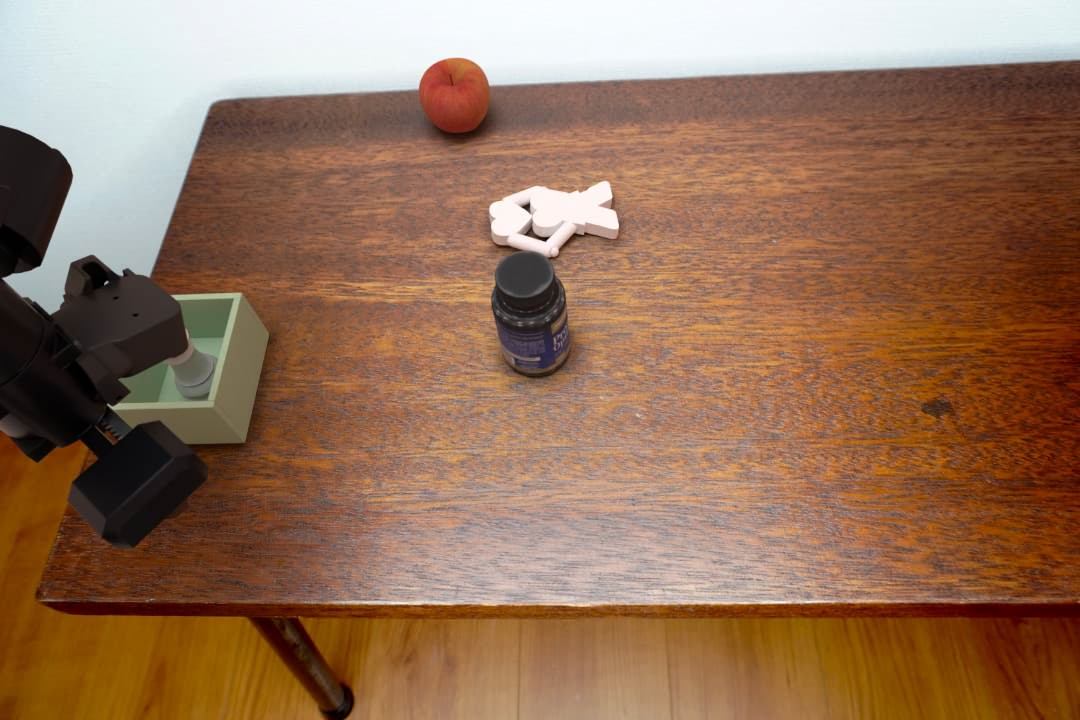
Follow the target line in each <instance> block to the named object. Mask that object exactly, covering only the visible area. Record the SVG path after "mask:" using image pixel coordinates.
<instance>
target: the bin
mask: <svg viewBox="0 0 1080 720" xmlns="http://www.w3.org/2000/svg"><path fill="white" fill-rule="evenodd" d="M170 295H171V296H172V297H173V298H174V299H176V300H177V301H178V302H179V303H180V305H181V310H182V315H183V320H184V325H185V328H186V329H187V331H188V334H189V338H190V339H191V340H192V341H193V344H194V347H195V348H196V349H197V350H198V351H199V352H201V353H206V354H210V355H213V356H215V357H216V358H217V359H218V362H217V366H216V370H215V374H214V378H213V382H212V385H211V389H210V393H209V397H208V401H196V402H191V401H187V400H186V399H185V398H184V397H183V396H181V393H180V392H179V391H178V390H177V387H176V385H175V382H174V371H173V369H172V367H171V366H170V365H169V364H166V363H165V362H164V361H163V362H161V363H159V364H157V365H155V366H153V367H151V368H149V369H147V370H145V371H143V372H141V373H139V374H137V375H135V376H132V377H128V378H120V379H118V380H119V381H121V382H122V383H123V384H124V385H125V386H126V387H127V388H128V389H129V390H130V391H131V393H130V394H128V395H127V396H126V397H125V398H124V399H123V400H121V401H120V402H119V403H118V404H117V405H115V406H110V405H109V404H107V405H108V406H109V407H110V408H111V409H113V410H114V411H115V412H116V413H117V414H118V415H119V416H120V417H121V418H122V419H123V420H124V421H125V422H126V423H127V424H128V425H129V426H130V427H131V428H132V429H133V428H134V427H136V426H137V425H138V424H141V423H146V422H151V421H157V420H160V421H161V422H162V423H163V424H164V425H165V426H166V427H168V428H169V429H170V430H171V431H172V432H173V433H174V434H175V435H176V436H177V437H178V438H179V439H180V440H181V441H182V442H184V443H185V444H186V445H210V444H211V445H213V444H214V445H215V444H216V445H218V444H245V443H246V440H247V436H248V431H249V428H250V427H249V426H250V424H251V418H252V414H253V409H254V406H255V400H256V396H257V391H258V387H259V382H260V379H261V374H262V369H263V364H264V360H265V356H266V351H267V348H268V343H269V338H270V333H269V331H268V329H267V328H266V326H265V325H264V323H263V322H262V321H261V319H260V317H259V316H258V315H257V313H256V311H255V310H254V308H253V307H252V305H251V304H250V302H249V301H248V300H247V298H246V296H245V294H243V292H220V293H219V292H218V293H192V294H191V293H190V294H189V293H188V294H170Z"/></svg>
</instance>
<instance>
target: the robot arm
mask: <svg viewBox="0 0 1080 720" xmlns="http://www.w3.org/2000/svg"><path fill="white" fill-rule="evenodd" d="M73 179H74V173H73V169H72V166H71V164H70V163H69V160H67V157H66V156H65V155H64V154H63V153H62V152H61V150H59V149H58V148H55V147H51V146H50V145H49V144H47V143H46V142H44V141H42V140H40V139H39V138H37V137H35V136H34V135H32V134H30V133H27V132H25V131H22V130H20V129H18V128H13V127H10V126H7V125H1V124H0V431H1V432H3V433H4V434H5V435H6V436H7V437H8V438H9V440H11V441H12V442H13V443H14V444H15V445H16V447H17V448H18V449H19V450H20V451H21V452H22V453H23V454H24V455H25V456H26V457H27V458H29V459H30V460H32V461H33V462H35V463H36V464H38V463H40V462H41V461H42V460H43V459H44V458H46V457H47V456H48V455H49V454H51V453H52V452H53V451H54V450H55V449H56V448H59V449H63V448H66V447H68V446H72V445H73V444H75V443H76V442H78V441H81V442H82V444H83V445H85V446H86V448H87V449H88V450H90V452H92V454H93V455H94V456H95V457H96V458H98V459H96V460H95V461H94V462H93V463H91V465H90V466H88V467H87V468H86V469H85V470H84V471H83V472H82V473H80V474H79V475H78V476H77V477H76V478H75V479H74V480H72V481H71V484H70V488H69V492H68V495H67V499H66V501H67V503H68V504H69V505H70V506H71V507H72V508H73V509H74V510H75V511H76V513H78V515H79V516H80V517H81V518H82V519H83V520H84V521H85V522H86V523H87V524H88V525H89V527H91V528H92V530H93V531H94V532H95V533H96V534H97V535H98V537H100V538H101V539H102V540H104V541H105V542H107V543H108V544H110V545H112V546H113V547H115V548H116V549H118V550H127V549H134V548H136V547H137V546H138V545H139V544H140V543H141V542H142V541H143V540H144V539H145V538H146V537H147V536H148V535H150V534H151V533H152V532H153V531H154V530H155V529H156V528H157V527H158V526H159V525H160V524H161V523H163V521H165V520H171V519H175V518H176V519H177V518H178V517H179V516H180V515H182V514H183V512H185V511H186V510H187V509H188V507H189V502H188V500H187V499H188V498H189V497H190V496H191V495H192V494H193V493H194V492H195V491H196V490H198V489H199V488H200V487H201V486H202V485H203V484H204V483H205V482H206V481H207V480H208V478H209V477H208V476H209V475H208V474H209V469H210V465H208V464H207V463H206V462H205V461H204V460H203V459H202V458H201V457H200V456H199V455H198V454H196V453H195V451H194V450H192V449H191V448H190V447H189V445H188V444H185V443H184V442H182V441H181V440H180V439H179V438H178V437H177V436H176V435H175V434H174V433H173V432H172V431H171V430H170V429H169V428H168V427H166V426H165V425H164V424H163V423H162V422H161V421H160V420H157V421H151V422H146V423H141V424H138V425H137V426H136V427H134V428H133V429H132V428H131V427H130V426H129V425H128V424H127V423H126V422H125V421H124V420H123V419H122V418H121V417H120V416H119V415H118V414H117V413H116V412H115V411H114V410H113V409H111V408H110V407H109V406H108V405H107V404H109V405H110V406H115V405H117V404H118V403H119V402H120V401H121V400H123V399H124V398H125V397H126V396H127V395H128V394H130V393H131V391H130V390H129V389H128V388H127V387H126V386H125V385H124V384H123V383H122V382H121V381H119V380H118V379H120V378H128V377H132V376H135V375H137V374H139V373H141V372H143V371H145V370H147V369H149V368H151V367H153V366H155V365H157V364H159V363H161V362H163V361H164V360H166V359H168V358H176V357H178V356H180V355H181V354H183V353H184V352H185V351H186V350H187V349H188V346H189V344H188V339H187V335H186V330H185V325H184V320H183V315H182V310H181V305H180V303H179V302H178V301H177V300H176V299H174V298H173V297H172V296H171V295H172V294H170V293H169V292H167V291H166V290H165V289H164V288H163V287H162V286H160V285H159V284H157V282H155V281H154V279H152V278H151V277H149V276H147V275H143V274H137V273H135V272H134V271H133V270H132V269H130V268H129V267H127V268H123V269H122V270H121V272H122V275H120V274H118V273H116V272H115V271H114V270H113V269H112V268H111V267H109V266H108V265H106V264H105V262H103V261H102V260H101V259H100V258H98V257H97V256H96V255H95V254H89V255H86V256H83V257H81V258H78V259H76V260H73V261H71V262H70V265H69V268H68V272H67V275H66V279H65V283H64V288H63V290H64V294H62V299H63V301H62V302H61V303H60V305H59V309H57V310H56V311H54V312H52V313H51V314H50V313H48V311H46V310H45V309H44V308H43V306H41V305H40V304H39V303H38V302H37V301H36V300H32V299H31V298H30V297H29V296H21V295H20V293H18V292H17V290H15V289H14V288H13V287H12V286H11V285H10V284H9V283H8V282H6V281H5V279H6V278H8V277H9V276H12V275H15V274H16V275H17V274H23V273H27V272H31V271H33V270H35V269H37V268H40V267H41V266H42V264H43V262H44V259H45V256H46V254H47V251H48V248H49V246H50V243H51V240H52V238H53V235H54V232H55V229H56V227H57V224H58V221H59V220H60V217H61V214H62V211H63V208H64V206H65V203H66V200H67V198H68V195H69V192H70V190H71V187H72V184H73ZM4 278H5V279H4ZM106 433H108V434H110V435H111V436H112V437H113V438H114V439H115V440H116V443H114V442H113V441H112V440H111V439H110V438H109V437H108V436H107V435H106Z"/></svg>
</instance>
